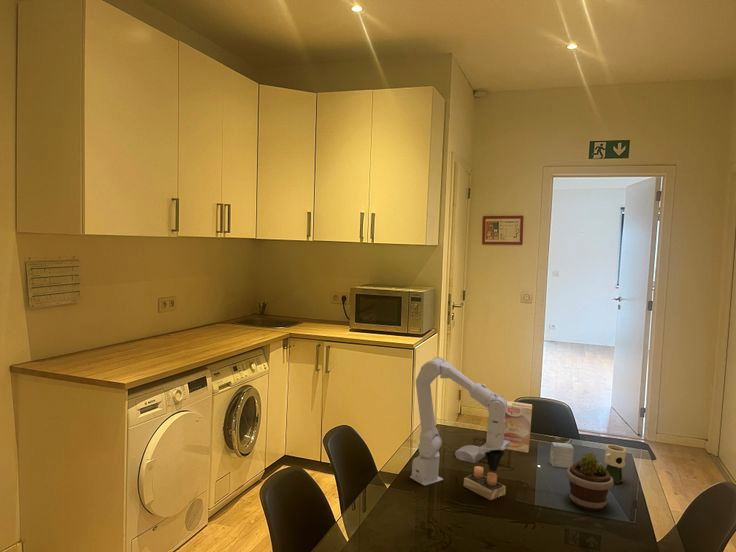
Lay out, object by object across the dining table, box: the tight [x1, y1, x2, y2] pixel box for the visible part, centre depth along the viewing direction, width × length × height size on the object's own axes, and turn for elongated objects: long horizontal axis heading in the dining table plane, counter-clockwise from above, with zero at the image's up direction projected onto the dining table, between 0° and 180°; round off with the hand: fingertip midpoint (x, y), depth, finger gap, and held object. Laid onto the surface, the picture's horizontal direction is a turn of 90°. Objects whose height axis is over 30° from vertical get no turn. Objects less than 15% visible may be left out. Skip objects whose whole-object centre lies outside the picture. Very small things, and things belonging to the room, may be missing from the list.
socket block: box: [463, 473, 507, 501], centre depth 185 cm, size 8×12×4 cm, turn 37°
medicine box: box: [549, 441, 575, 469], centre depth 212 cm, size 8×4×9 cm, turn 84°
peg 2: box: [486, 471, 498, 486], centre depth 182 cm, size 3×3×3 cm
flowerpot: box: [565, 450, 615, 512], centre depth 179 cm, size 14×15×20 cm
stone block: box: [454, 444, 486, 464], centre depth 216 cm, size 12×5×10 cm
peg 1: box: [473, 465, 484, 479], centre depth 187 cm, size 3×3×3 cm
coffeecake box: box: [504, 400, 533, 454], centre depth 229 cm, size 15×7×20 cm, turn 73°
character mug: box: [604, 444, 627, 484], centre depth 200 cm, size 11×7×13 cm, turn 120°
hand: (492, 470), depth 182 cm, fingers closed
